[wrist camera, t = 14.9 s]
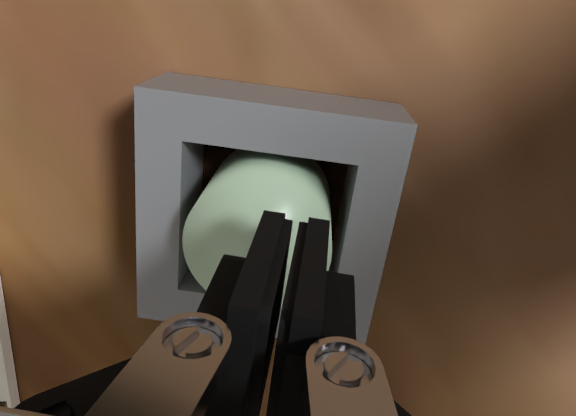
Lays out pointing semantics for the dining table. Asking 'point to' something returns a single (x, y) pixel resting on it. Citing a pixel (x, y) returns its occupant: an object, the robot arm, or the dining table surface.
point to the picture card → (6, 361)
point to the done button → (252, 207)
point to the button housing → (269, 139)
